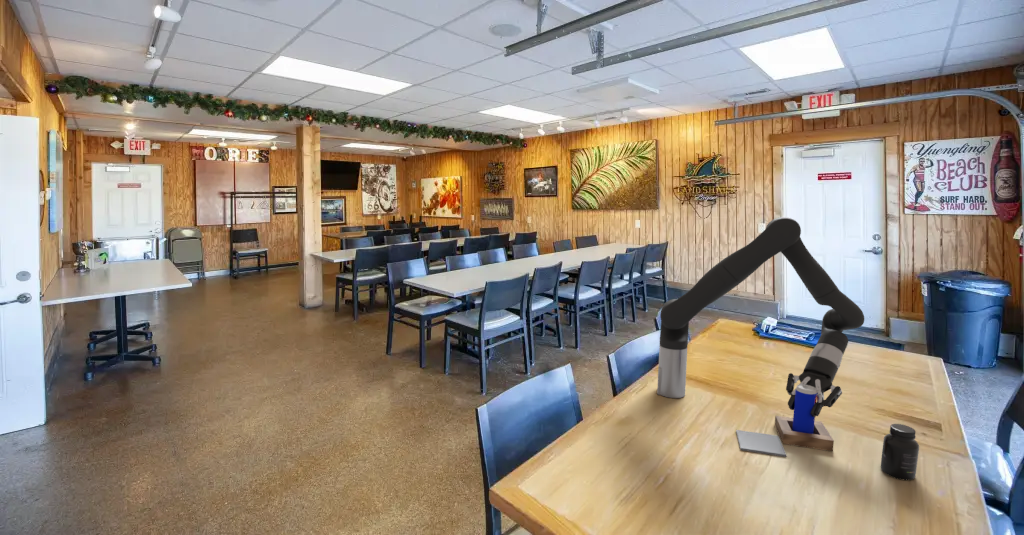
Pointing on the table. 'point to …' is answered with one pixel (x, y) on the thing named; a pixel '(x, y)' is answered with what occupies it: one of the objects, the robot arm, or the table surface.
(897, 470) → the supplement bottle
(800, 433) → the walnut holder
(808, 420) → the beverage can
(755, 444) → the slate coaster
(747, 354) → the table surface
